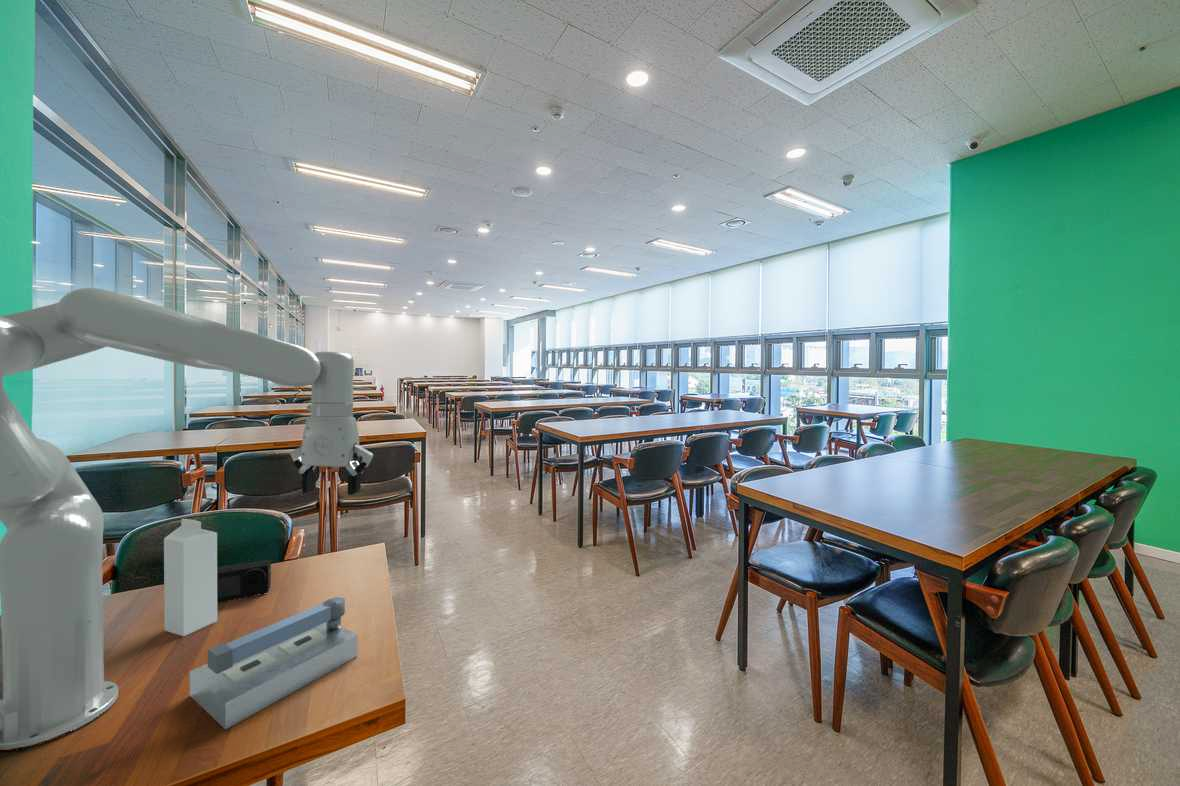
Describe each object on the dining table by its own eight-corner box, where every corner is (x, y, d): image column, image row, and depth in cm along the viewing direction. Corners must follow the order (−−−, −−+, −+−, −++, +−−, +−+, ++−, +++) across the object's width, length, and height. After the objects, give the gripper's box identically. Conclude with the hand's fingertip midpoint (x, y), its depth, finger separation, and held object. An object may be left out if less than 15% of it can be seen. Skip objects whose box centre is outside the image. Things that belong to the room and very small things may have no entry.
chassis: (225, 729, 64) (225, 687, 63) (189, 695, 70) (189, 658, 70) (358, 655, 81) (358, 622, 81) (320, 634, 88) (320, 603, 87)
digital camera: (209, 606, 97) (209, 575, 97) (216, 596, 102) (216, 566, 102) (267, 596, 102) (267, 566, 102) (270, 586, 107) (270, 558, 107)
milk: (198, 616, 93) (198, 514, 93) (217, 621, 91) (218, 517, 91) (163, 631, 88) (163, 522, 87) (183, 637, 86) (183, 526, 85)
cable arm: (337, 608, 85) (337, 594, 85) (348, 614, 84) (348, 599, 83) (207, 666, 68) (207, 648, 68) (217, 674, 66) (217, 656, 66)
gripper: (279, 411, 88) (278, 495, 88) (362, 413, 87) (360, 498, 87) (305, 409, 95) (304, 486, 96) (382, 411, 94) (380, 489, 95)
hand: (331, 492), depth 91 cm, fingers open, 9 cm apart
